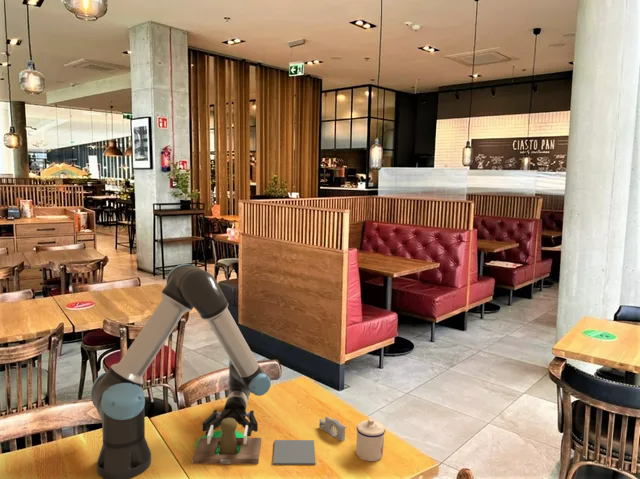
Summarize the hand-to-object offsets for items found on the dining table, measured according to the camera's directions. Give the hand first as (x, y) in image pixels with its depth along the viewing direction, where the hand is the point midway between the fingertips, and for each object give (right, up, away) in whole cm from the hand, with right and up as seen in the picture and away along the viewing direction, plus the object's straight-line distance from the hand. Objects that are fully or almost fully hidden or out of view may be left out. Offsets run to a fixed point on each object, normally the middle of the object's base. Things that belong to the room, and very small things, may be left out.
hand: (226, 439), depth 148 cm
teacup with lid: (+45, -7, +8) cm, 46 cm away
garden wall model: (+33, -6, +18) cm, 38 cm away
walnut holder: (0, -6, +5) cm, 8 cm away
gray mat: (+21, -7, +6) cm, 22 cm away
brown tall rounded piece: (0, -6, +5) cm, 8 cm away
